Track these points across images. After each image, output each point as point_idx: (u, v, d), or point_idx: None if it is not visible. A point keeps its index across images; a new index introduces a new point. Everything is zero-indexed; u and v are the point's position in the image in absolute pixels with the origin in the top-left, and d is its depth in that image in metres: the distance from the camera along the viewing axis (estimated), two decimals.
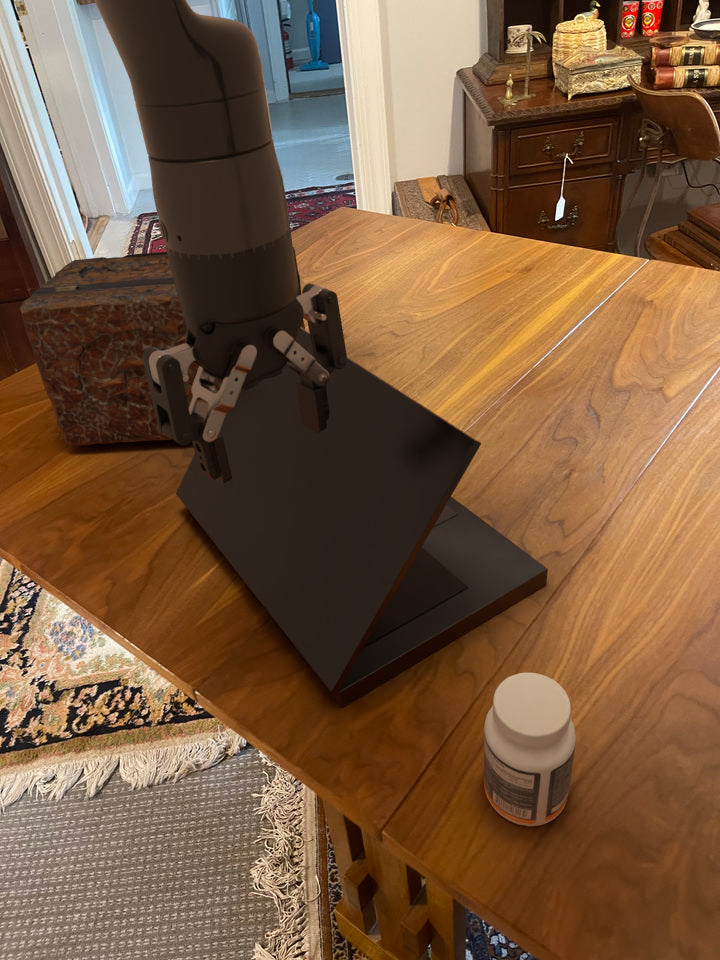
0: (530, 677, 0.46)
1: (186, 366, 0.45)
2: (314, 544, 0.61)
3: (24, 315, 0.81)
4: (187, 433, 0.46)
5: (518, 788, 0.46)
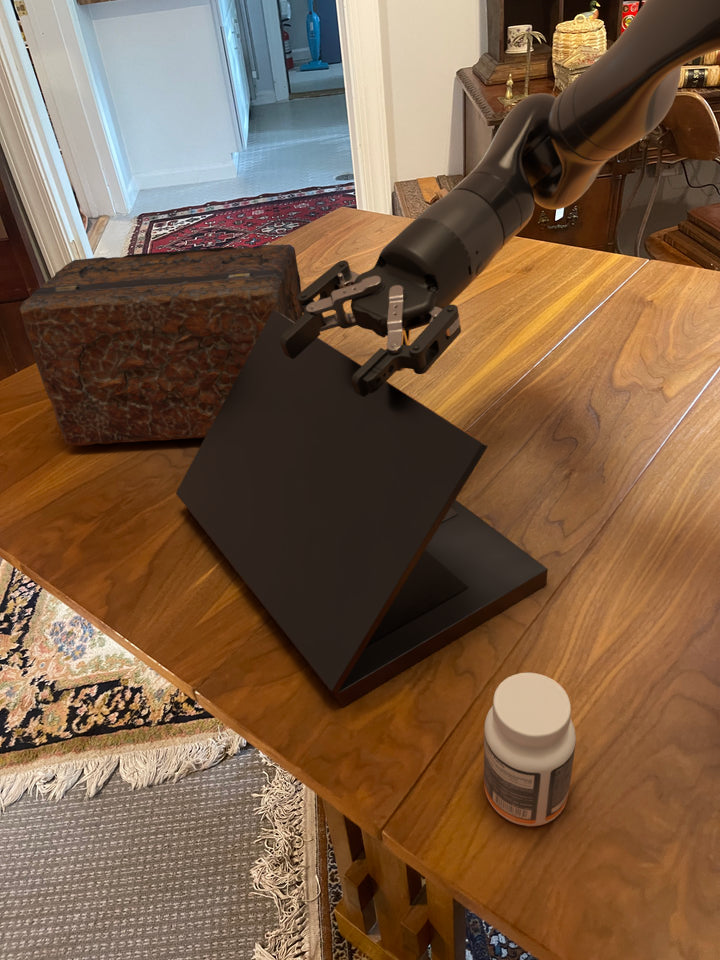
0: (530, 677, 0.46)
1: (349, 280, 0.66)
2: (317, 544, 0.61)
3: (24, 315, 0.81)
4: (306, 294, 0.65)
5: (518, 788, 0.46)
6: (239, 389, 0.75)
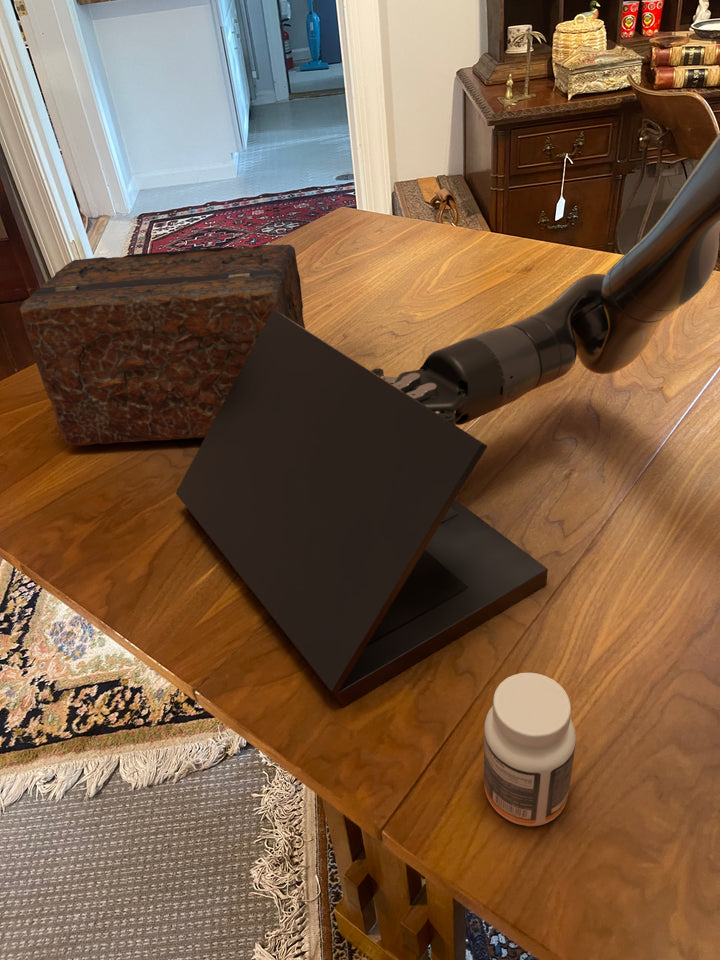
0: (530, 677, 0.46)
1: (389, 382, 0.71)
2: (316, 544, 0.61)
3: (24, 315, 0.81)
4: None
5: (518, 788, 0.46)
6: (239, 389, 0.75)
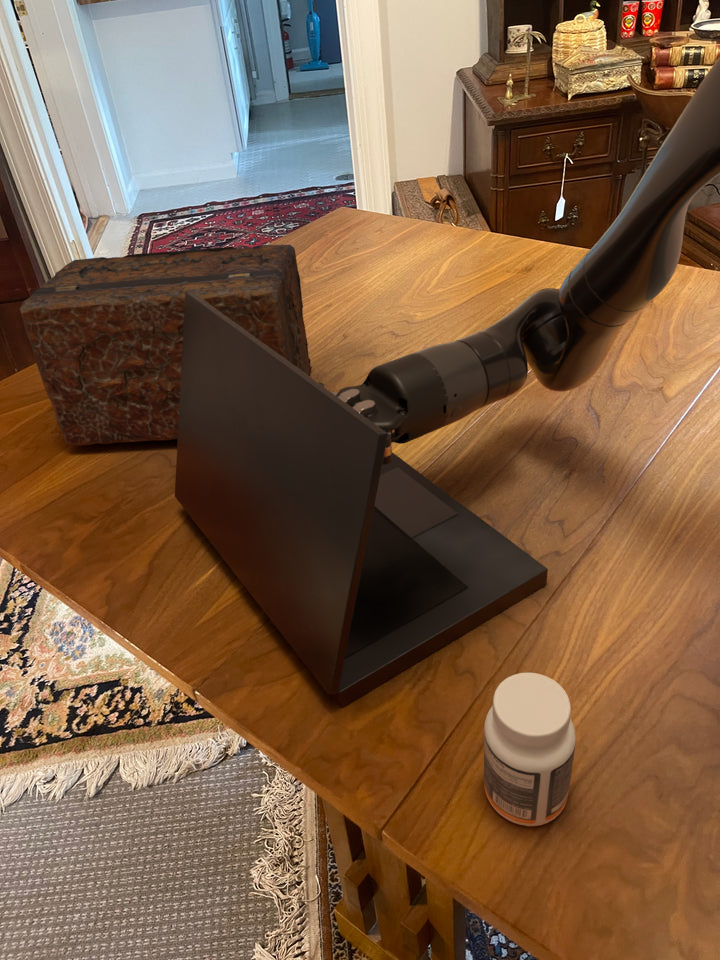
0: (530, 677, 0.46)
1: None
2: (282, 548, 0.59)
3: (24, 315, 0.81)
4: None
5: (518, 788, 0.46)
6: (186, 384, 0.71)
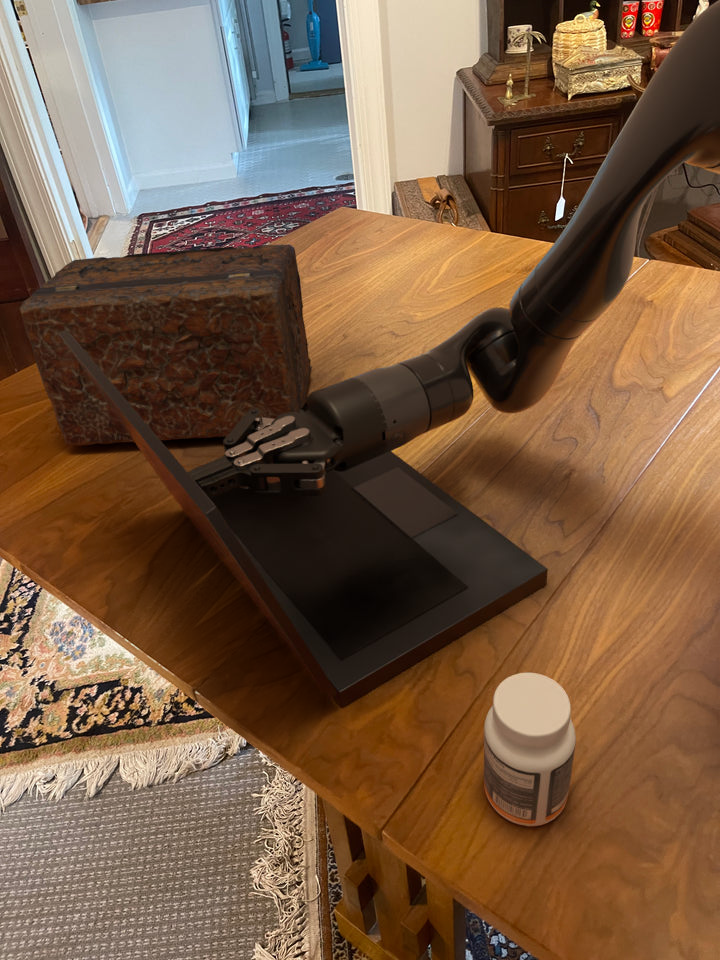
0: (530, 677, 0.46)
1: (266, 424, 0.66)
2: (237, 574, 0.58)
3: (24, 315, 0.81)
4: (232, 439, 0.63)
5: (518, 788, 0.46)
6: (115, 413, 0.68)
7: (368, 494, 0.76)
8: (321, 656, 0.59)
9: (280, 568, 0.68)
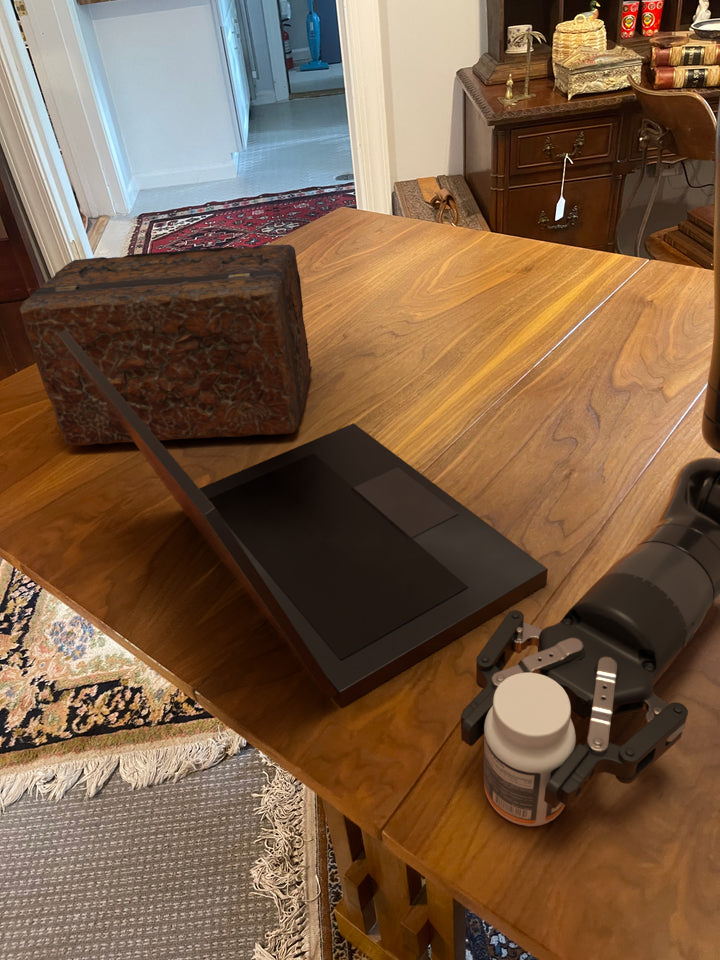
0: (530, 677, 0.46)
1: (528, 636, 0.54)
2: (237, 574, 0.58)
3: (24, 315, 0.81)
4: (488, 658, 0.51)
5: (518, 788, 0.46)
6: None
7: (368, 494, 0.76)
8: (321, 656, 0.59)
9: (280, 568, 0.68)
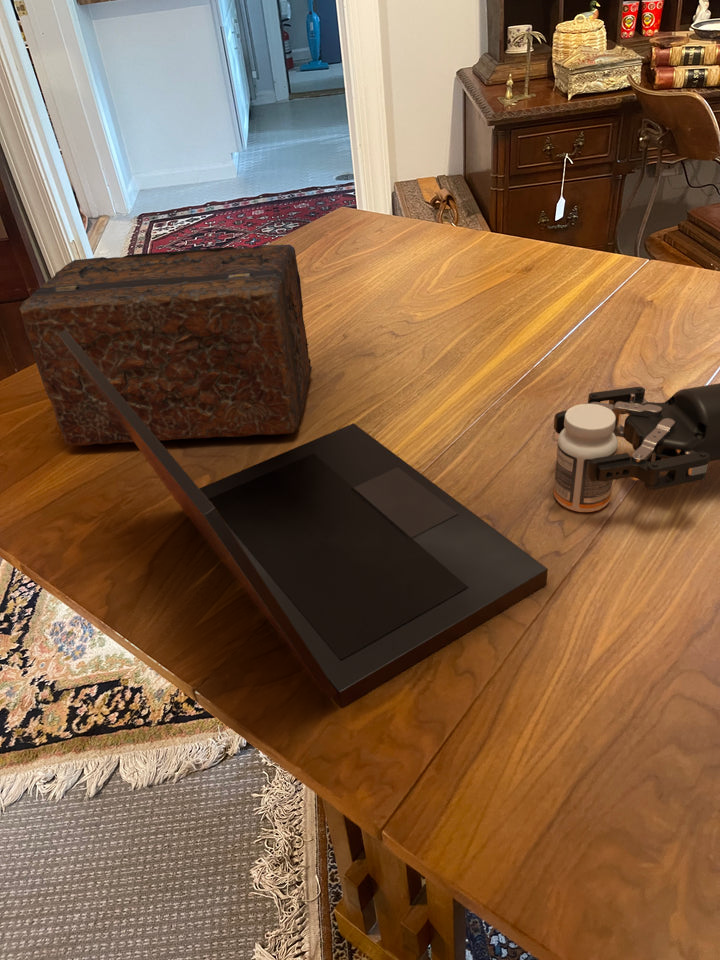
0: (600, 407, 0.71)
1: (637, 403, 0.76)
2: (237, 574, 0.58)
3: (24, 315, 0.81)
4: (597, 395, 0.76)
5: (564, 469, 0.72)
6: None
7: (368, 494, 0.76)
8: (321, 656, 0.59)
9: (280, 568, 0.68)
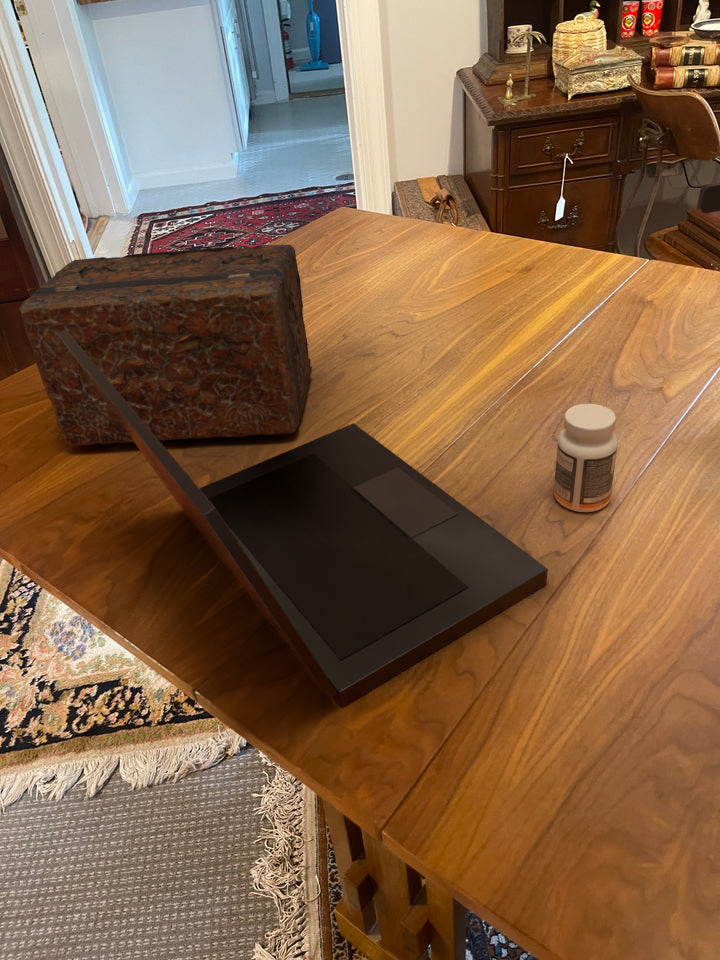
0: (600, 407, 0.71)
1: None
2: (237, 574, 0.58)
3: (24, 315, 0.81)
4: None
5: (564, 469, 0.72)
6: None
7: (368, 494, 0.76)
8: (321, 656, 0.59)
9: (280, 568, 0.68)
